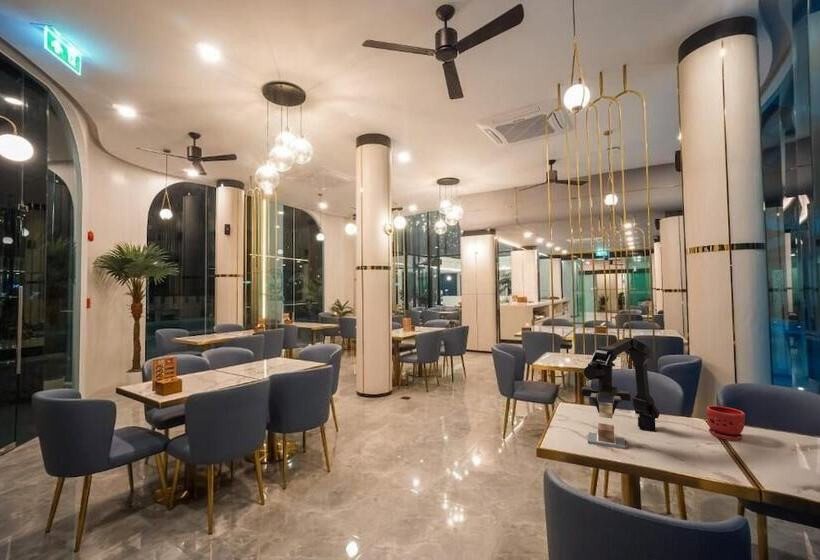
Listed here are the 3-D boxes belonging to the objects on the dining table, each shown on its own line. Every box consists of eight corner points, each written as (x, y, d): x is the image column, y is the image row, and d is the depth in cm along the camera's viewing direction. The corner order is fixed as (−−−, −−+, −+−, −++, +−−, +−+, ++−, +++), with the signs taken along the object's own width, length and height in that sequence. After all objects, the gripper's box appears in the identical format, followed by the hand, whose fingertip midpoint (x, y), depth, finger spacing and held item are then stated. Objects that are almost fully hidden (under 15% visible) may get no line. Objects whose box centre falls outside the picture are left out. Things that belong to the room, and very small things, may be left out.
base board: (624, 439, 167) (624, 436, 167) (625, 449, 158) (625, 446, 158) (588, 434, 174) (588, 431, 174) (587, 443, 164) (587, 440, 164)
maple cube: (612, 415, 167) (612, 403, 167) (612, 418, 162) (612, 406, 163) (599, 413, 169) (599, 402, 169) (599, 416, 165) (599, 405, 165)
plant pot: (747, 445, 161) (746, 416, 161) (707, 437, 169) (706, 410, 169) (744, 435, 171) (743, 408, 171) (707, 429, 179) (706, 403, 179)
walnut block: (614, 436, 168) (613, 425, 168) (614, 443, 161) (614, 431, 161) (598, 434, 170) (598, 423, 171) (598, 440, 163) (598, 429, 163)
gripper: (580, 379, 163) (580, 416, 163) (630, 383, 155) (631, 422, 154) (581, 373, 173) (582, 408, 173) (629, 377, 165) (630, 414, 164)
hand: (605, 413), depth 166 cm, fingers closed on maple cube, 5 cm apart
